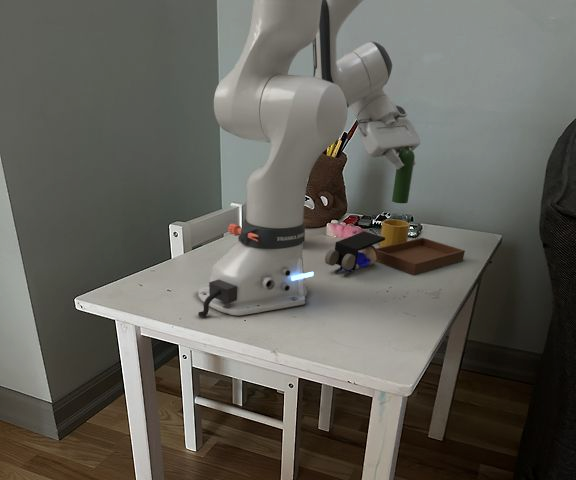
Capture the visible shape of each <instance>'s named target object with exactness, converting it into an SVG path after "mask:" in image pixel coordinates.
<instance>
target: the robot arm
mask: <svg viewBox="0 0 576 480" xmlns="http://www.w3.org/2000/svg"><path fill="white" fill-rule="evenodd" d="M363 1H364V0H253V3H252V11H251V13H252V14H251V20H250V26H249V31H248V34H247V38H246V41H245V43H244V45H243V46H244V47H243V49H242V51H241V54H240V56H239V57H238V59H237V62H236V63H235V65H234V66H233V68H232V69H231V70H230V71H229V72H228V73H227V74H226V75H225V76H224V77H223V78H222V79H221V80H220V81H219V83H218V84H217V87H216V88H215V92H214V96H213V112H214V116H215V119H216V121H217V123H218V125H219V127H220V128H221V129H222V130H224V131H225V132H227V133H229V134H231V135H232V136H233V135H234V136H235V137H238V138H241V139H243V140H247V141H254V142H255V141H256V142H262V143H270V151H269V155H268V158H267V161H266V163H265V164H262V165H260V166H259V167H257V168H255V169H254V170H253V171H252V172H251V173H250V174H249V176H248V177H247V180H246V184H245V185H246V186H245V187H246V188H245V189H246V190H245V191H246V192H245V193H246V198H245V200H246V201H245V203H246V204H245V205H246V206H245V207H246V208H245V214H246V215H245V219H244V221H243V223H242V226H241V225H239V224H236V223H232V222H231V223H230V224H229V225H228V227H227V230H228V231H227V232H228V233H229V234H230V235H233V236H234V237H235V236H236V237H238V238H237V239H238V241H237V242H236V243H235V244H234V245H233V246H232V247H231V248H230V249H228V250H227V251H226V252H225V254H223V255H222V256H221V257H220V258H219V259H218V260H216V262H215V263H214V264H213V265H212V268H211V271H210V277H209V282H208V285H206V286H203V287H201V288H199V289H198V298H199V299H200V301H201V302H203V310H202V311H198V313H197V315H198V317H200V318H204V317H206V316H208V314H209V311H210V308H212V309H214V310H216V311H218V312H221V313H223V314H228V315H231V316H235V317H236V316H238V317H239V316H246V315H253V314H258V313H263V312H268V311H269V312H270V311H274V310H275V311H276V310H281V309H286V308H292V307H298V306H303V305H305V304H306V296H307V294H308V289H307V284H306V280H305V278H310V277H314V271H309V272H306V273H305V271H304V257H303V256H304V255H303V243H304V242H305V239H306V237H305V236H306V222H305V221H304V215H305V202H306V194H307V187H308V186H307V185H308V183H309V182H308V181H309V178H310V174H311V172H312V170H313V168H314V166H315V164H316V162H317V160H318V159H319V158H320V156H321V155H322V154H323V153H324V151H326V150H327V149H329V148H330V147H332V145H334V144H335V143H336V142H337V141H338V140H339V138H340V137H341V135H342V134H343V132H344V130H345V128H346V124H347V121H348V109H349V108H350V109H351V110H352V111H353V112H354V115H355V119H356V120H357V129H358V130H359V132H358V135H359V138H360V141H361V142H362V145H363V146H364V148H365V151H366V152H367V154H368V155H369V156H370V157H371V158H379V157H386V159H387V161H389V162H390V163H391V164H392V165H393V166H394V167H395V170H396V169H397V170H399V169H402V168H403V167H404V166H405V163H404V161H403V160H402V159H400V158H399V157H398V155H399V153H400V152H401V151H402V150H404V149H406V146H410V150H412V151H413V152H414V150H416V148H418V147H419V146H420V145H421V139H420V136H419V134H418V132H417V130H416V129H415V127H414V125H413V123H412V122H411V120H410V119H409V118H408V117H407V116H408V112H407V110H406V109H405V108H404V107H402V106H400V105H398V104H396V103H394V102H393V100H391V99H390V97H389V95H387V93H385V91H384V87H385V86H386V85H387V84H388V81H389V79H390V77H391V75H392V74H391V73H392V70H393V62H392V60H391V57H390V55H389V53H388V51H387V49H386V48H385V47H384V46H383V45H381V44H380V43H378V42H376V41H373V40H371V41H369V42H365V43H364V44H362V45H360V46H359V47H357V48H355V49H353V50H351V52H348V53H346V54H345V55H344V56H342V57H340V58H339V59H338V57H337V56H338V55H337V38H338V34H339V32H340V29H341V27H342V26H343V24H344V23H345V21H346V20H347V19H348V17H349V16H350V15H351V14H352V13H353V12H354V11H355V9H356V8H357V7H358V6H359V5H360V4H361V3H362V2H363ZM311 44H312V56H313V57H312V60H313V75H301V74H300V75H299V74H289V70H290V68H291V66H292V63H293V61H294V59H295V58H296V56H297V55H298V54H299V52H301V51H302V50H304V49H306V48H307V47H308V46H309V45H311ZM416 164H417V162H416V160H415V159H414V165H413V167H414V166H416Z"/></svg>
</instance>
